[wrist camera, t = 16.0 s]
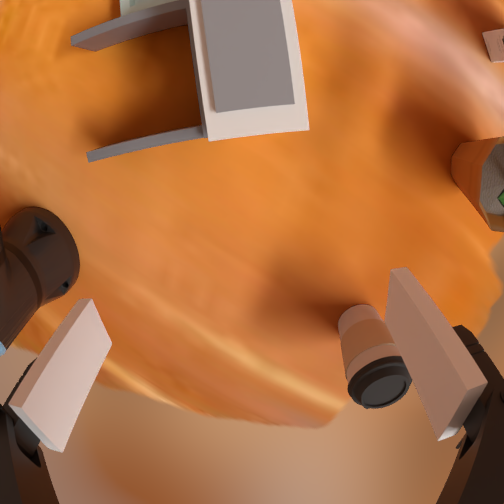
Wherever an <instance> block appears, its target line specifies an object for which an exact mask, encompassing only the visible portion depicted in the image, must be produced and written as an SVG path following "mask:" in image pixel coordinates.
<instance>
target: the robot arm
mask: <svg viewBox="0 0 504 504" xmlns="http://www.w3.org/2000/svg"><path fill="white" fill-rule="evenodd" d="M79 269H80V260H79V254H78V250H77V247H76V244H75V241H74V239H73V237H72V235H71V234H70V232H69V230H68V229H67V227H66V226H65V225H64V224H63V223H62V221H61V220H60V219H59V218H57V217H56V216H55V215H54V214H52V213H51V212H49V211H47V210H45V209H42V208H39V207H29V208H25V209H23V210H22V211H20V212H18V213H17V214H15V215H14V216H13V217H12V218H11V219H10V220H9V221H8V222H7V224H6V225H5V227H4V228H3V230H2V231H1V227H0V356H1V355H3V354H4V353H5V352H6V350H7V349H8V347H9V346H10V345H11V343H12V342H13V341H14V339H15V338H16V337H17V335H18V334H19V333H20V331H21V330H22V329H23V327H24V326H25V325H26V323H27V322H28V321H29V320H30V318H31V317H32V316H33V315H34V313H35V312H36V311H37V310H38V309H39V307H41V306H43V305H45V304H47V303H49V302H51V301H53V300H56V299H58V298H60V297H62V296H63V295H65V294H66V293H67V292H68V291H69V290H70V288H71V287H72V286H73V285H74V284H75V282H76V280H77V278H78V275H79ZM384 322H385V324H386V326H387V328H388V330H389V332H390V334H391V336H392V338H393V340H394V342H395V344H396V346H397V348H398V350H399V352H400V354H401V357H402V359H403V361H404V363H405V365H406V367H407V369H408V372H409V374H410V376H411V378H412V380H413V383H414V385H415V387H416V389H417V392H418V394H419V396H420V398H421V401H422V403H423V406H424V408H425V410H426V412H427V415H428V417H429V420H430V422H431V425H432V427H433V430H434V433H435V435H436V438H437V440H438V441H439V440H442V439H445V438H448V437H450V436H453V435H456V434H457V433H458V431H459V430H460V429H461V427H462V425H463V426H464V428H465V430H466V434H465V435H464V437H463V438H462V439H461V441H460V442H459V444H458V445H457V447H456V448H457V449H458V448H459V447H460V449H459V452H458V454H457V457H456V460H455V462H454V465H453V467H452V470H451V472H450V474H449V477H448V479H447V481H446V483H445V486H444V488H443V490H442V492H441V494H440V496H439V499H438V501H437V503H436V504H504V379H503V377H502V376H501V374H500V372H499V371H498V369H497V368H496V366H495V365H494V363H493V362H492V360H491V359H490V358H489V356H488V355H487V353H486V352H484V349H483V347H482V346H481V345H480V344H479V342H478V340H477V339H476V337H475V336H474V335H473V333H472V332H471V331H469V330H468V329H466V328H465V327H464V326H462V325H459V326H455V327H452V326H451V325H450V324H449V322H448V321H447V319H446V318H445V317H444V315H443V314H442V312H441V311H440V310H439V308H438V307H437V306H436V304H435V303H434V302H433V300H432V299H431V298H430V296H429V295H428V294H427V292H426V291H425V290H424V288H423V287H422V286H421V284H420V283H419V282H418V281H417V279H416V278H415V277H414V276H413V274H412V273H411V272H410V271H409V269H408V268H407V267H404V268H397V269H391V271H390V281H389V290H388V298H387V306H386V313H385V320H384ZM111 345H112V342H111V340H110V338H109V336H108V334H107V332H106V329H105V327H104V325H103V323H102V321H101V318H100V316H99V314H98V312H97V309H96V307H95V305H94V302H93V300H92V298H89V299H79V300H78V301H77V303H76V304H75V305H74V307H73V308H72V309H71V311H70V312H69V313H68V315H67V316H66V317H65V319H64V320H63V321H62V323H61V324H60V326H59V327H58V328H57V330H56V331H55V333H54V334H53V335H52V337H51V338H50V340H49V341H48V343H47V344H46V345H45V347H44V348H43V350H42V351H41V353H40V354H39V356H38V357H37V358H36V359H35V360H34V361H33V362H32V363H30V364H29V365H28V367H27V368H26V370H25V371H24V373H23V376H21V378H20V379H19V382H17V384H16V385H15V387H14V389H13V390H12V392H11V394H10V395H9V397H8V398H7V400H6V402H5V404H4V405H3V406H2V405H1V404H0V504H59V502H58V499H57V496H56V494H55V490H54V488H53V485H52V482H51V479H50V476H49V472H48V469H47V466H46V462H45V459H44V456H43V452H42V450H41V448H40V447H39V446H38V444H39V442H40V440H41V441H42V442H43V443H44V444H45V445H46V446H47V447H48V448H49V449H52V450H55V451H59V452H63V450H64V448H65V445H66V443H67V441H68V438H69V435H70V433H71V431H72V429H73V426H74V424H75V422H76V419H77V417H78V415H79V413H80V410H81V408H82V406H83V404H84V401H85V399H86V397H87V395H88V392H89V391H90V388H91V386H92V384H93V382H94V380H95V378H96V376H97V374H98V372H99V370H100V367H101V365H102V363H103V361H104V359H105V357H106V355H107V353H108V351H109V349H110V347H111Z"/></svg>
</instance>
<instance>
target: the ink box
mask: <svg viewBox="0 0 504 504" xmlns="http://www.w3.org/2000/svg"><path fill="white" fill-rule="evenodd" d="M482 35H483V38H484V40H485V43H486V47H487V50H488V53H489V56H490V59H491V62H504V29H498V30H492V31H487V32H482Z"/></svg>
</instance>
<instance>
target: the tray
mask: <svg viewBox="0 0 504 504" xmlns="http://www.w3.org/2000/svg"><path fill="white" fill-rule="evenodd" d="M173 1H177V0H120V11H121V16H124V15H127V14H130V13H133V12H137V11H140V10H143V9H147V8H150V7H154V6H157V5H161V4H165V3H169V2H173Z"/></svg>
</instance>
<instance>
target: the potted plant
mask: <svg viewBox="0 0 504 504" xmlns="http://www.w3.org/2000/svg"><path fill="white" fill-rule="evenodd" d="M451 175H452V177H453V179H454V180H455V182H456V184H457V185H458V187H459V189H460V190H461V191H462V192H463V193H464V195H465V196H466V197H467V198H468V200H469V201H470V202H471V203H472V205H473V206H474V207H475V209H476V210H477V211H478V213H479V214H480V215H481V217H482V218H483V219H484V221H485V222H486V223H487V225H488V226H489V228H490V229H491V230H492V231H499V232H504V137H497V138H490V139H484V140H477V141H471V142H465V143H460V145H459V146H458V148H457V149H456V151H455V152H454V154H453V155H452V160H451Z"/></svg>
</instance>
